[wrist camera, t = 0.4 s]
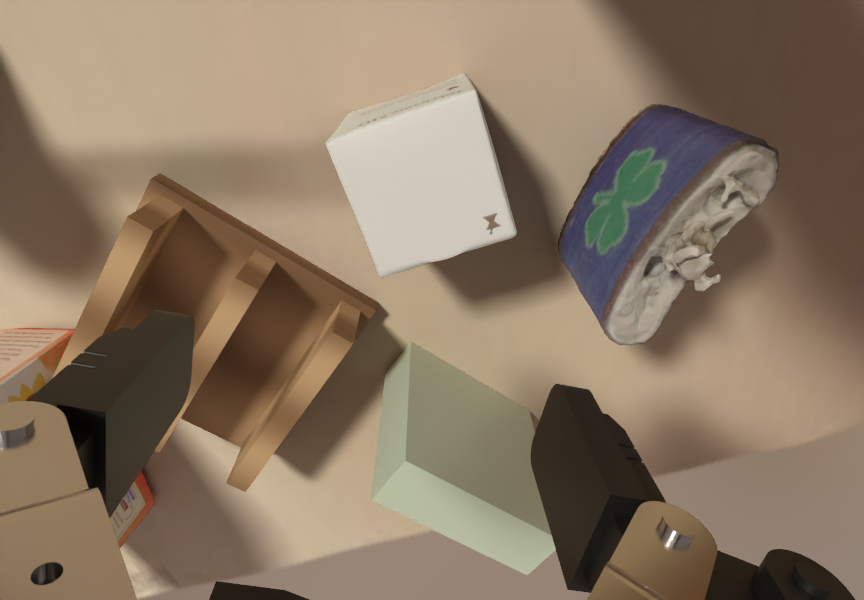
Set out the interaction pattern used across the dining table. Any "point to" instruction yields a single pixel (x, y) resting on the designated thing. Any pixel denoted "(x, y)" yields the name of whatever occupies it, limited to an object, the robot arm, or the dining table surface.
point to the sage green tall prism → (460, 461)
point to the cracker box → (32, 369)
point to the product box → (423, 176)
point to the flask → (660, 215)
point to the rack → (227, 317)
